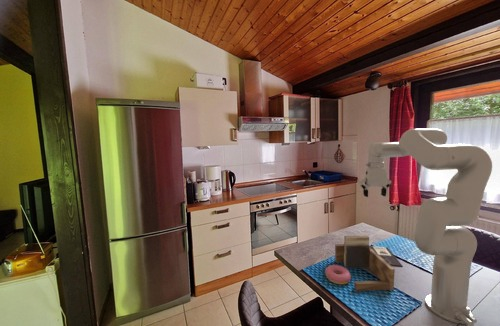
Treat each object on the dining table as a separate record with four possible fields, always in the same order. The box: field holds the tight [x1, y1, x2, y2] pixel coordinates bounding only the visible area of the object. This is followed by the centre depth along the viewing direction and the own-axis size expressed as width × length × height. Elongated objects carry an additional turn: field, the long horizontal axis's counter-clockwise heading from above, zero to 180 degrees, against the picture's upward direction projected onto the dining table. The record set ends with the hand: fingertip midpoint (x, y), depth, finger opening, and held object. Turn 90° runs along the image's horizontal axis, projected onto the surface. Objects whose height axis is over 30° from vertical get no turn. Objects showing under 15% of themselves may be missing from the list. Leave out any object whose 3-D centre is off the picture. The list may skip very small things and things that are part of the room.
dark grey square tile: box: [345, 244, 371, 269], centre depth 104 cm, size 1×11×11 cm, turn 90°
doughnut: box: [324, 264, 352, 285], centre depth 97 cm, size 11×11×4 cm
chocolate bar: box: [369, 245, 404, 268], centre depth 113 cm, size 9×1×18 cm
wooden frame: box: [334, 234, 396, 292], centre depth 99 cm, size 22×16×15 cm
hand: (374, 196), depth 118 cm, fingers open, 9 cm apart
